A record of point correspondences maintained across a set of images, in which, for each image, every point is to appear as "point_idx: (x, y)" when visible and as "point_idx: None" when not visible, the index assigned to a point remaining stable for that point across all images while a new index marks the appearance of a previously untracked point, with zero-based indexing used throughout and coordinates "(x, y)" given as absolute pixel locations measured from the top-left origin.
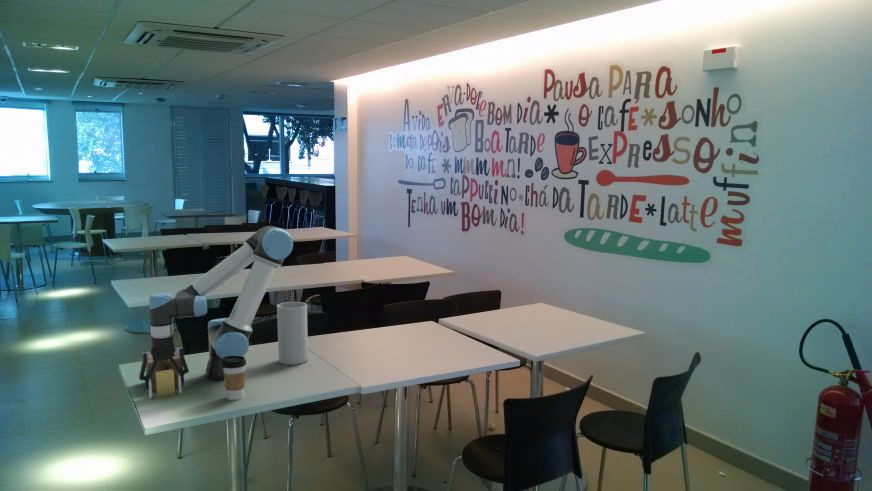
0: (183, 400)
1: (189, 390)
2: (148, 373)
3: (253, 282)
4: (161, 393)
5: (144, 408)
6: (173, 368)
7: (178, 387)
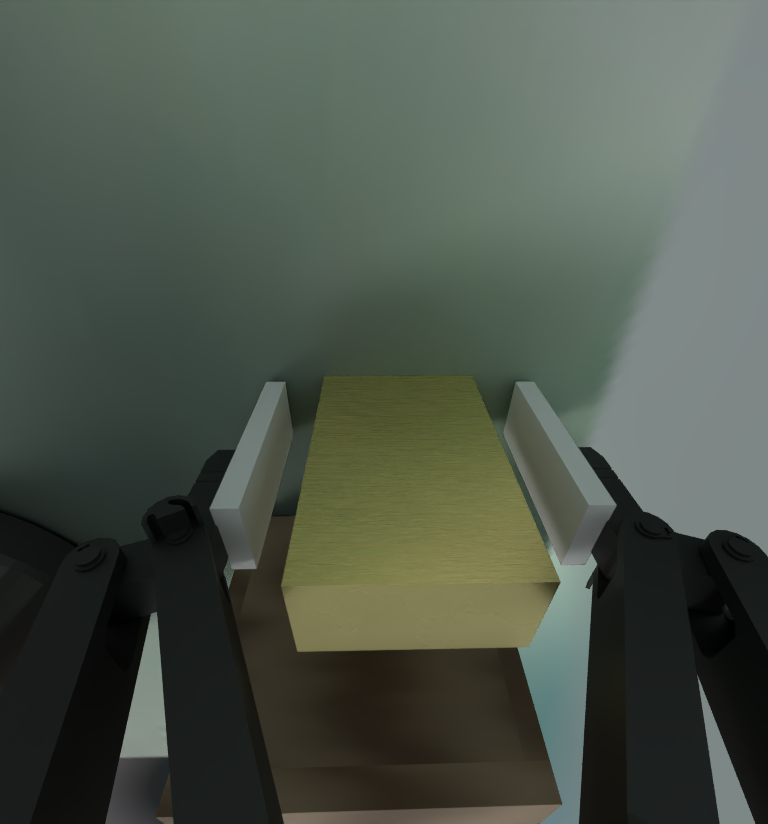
0: (242, 143)
1: (202, 413)
2: (683, 614)
3: None
4: (442, 393)
5: (694, 113)
6: (294, 675)
7: (283, 442)
